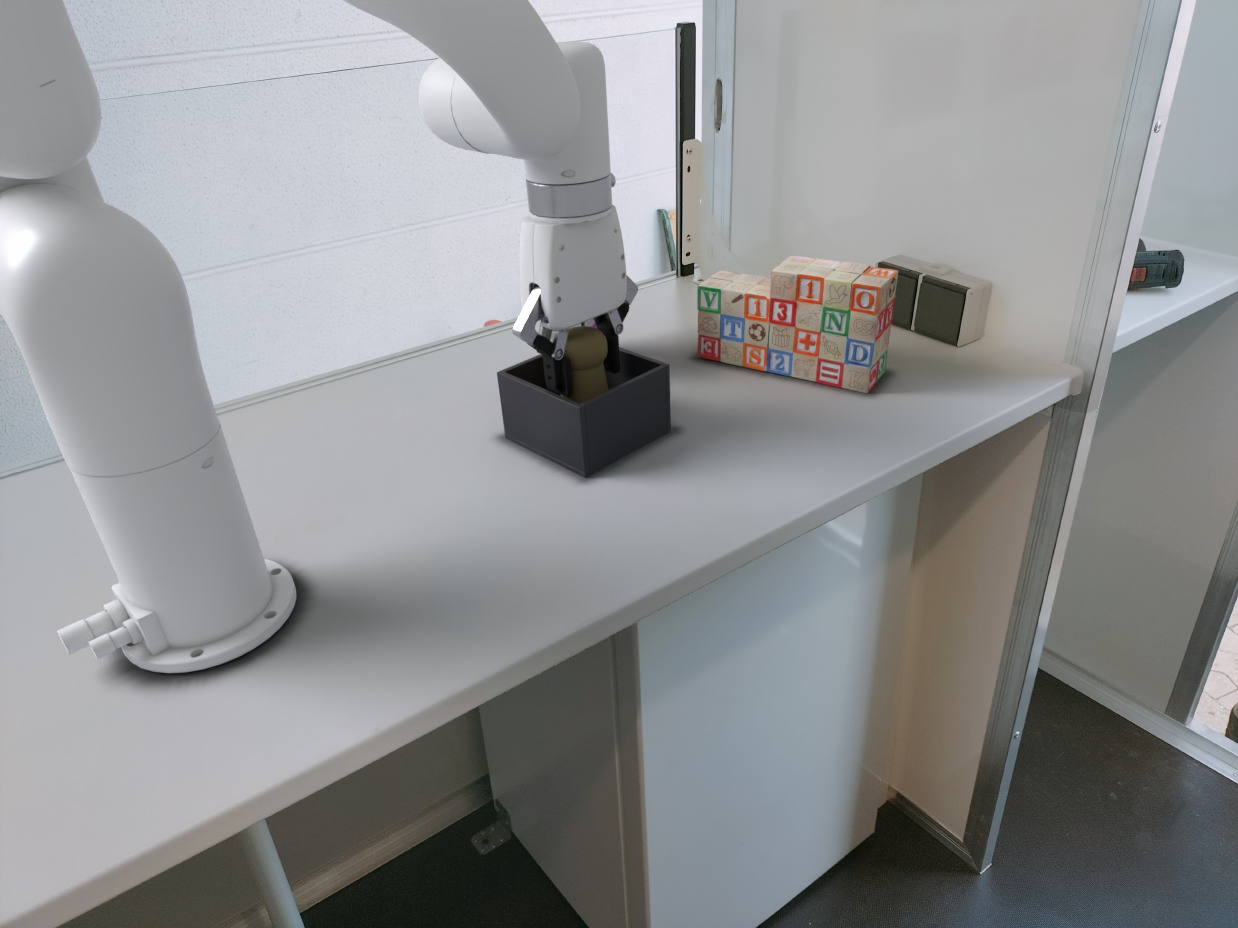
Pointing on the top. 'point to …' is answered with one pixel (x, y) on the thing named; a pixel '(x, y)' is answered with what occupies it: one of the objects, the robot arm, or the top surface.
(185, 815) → the top surface
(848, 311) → the stack of blocks
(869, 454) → the top surface
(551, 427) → the basket
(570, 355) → the cork
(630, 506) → the top surface
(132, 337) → the robot arm
